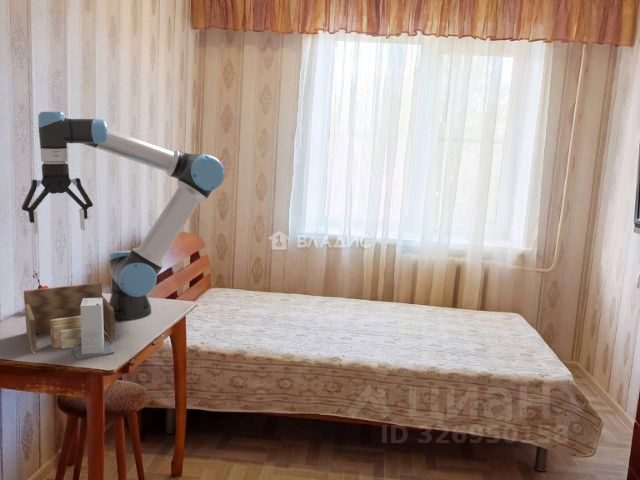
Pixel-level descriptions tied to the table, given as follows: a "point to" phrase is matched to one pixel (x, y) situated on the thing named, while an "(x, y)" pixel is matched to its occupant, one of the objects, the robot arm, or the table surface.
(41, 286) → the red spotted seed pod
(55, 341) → the offcut bundle
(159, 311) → the table surface
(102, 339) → the skincare box
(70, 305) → the walnut rack
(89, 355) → the grey rubber mat
